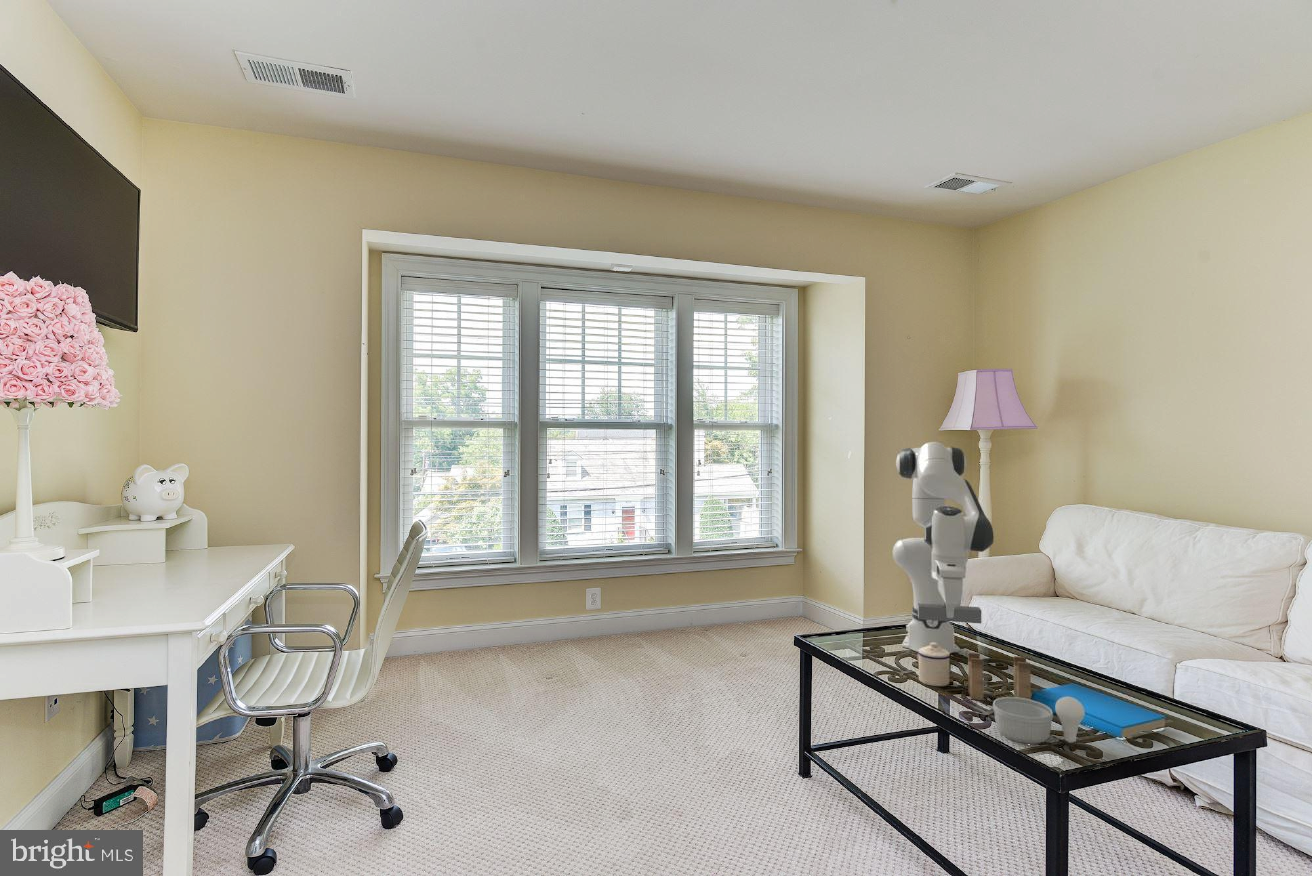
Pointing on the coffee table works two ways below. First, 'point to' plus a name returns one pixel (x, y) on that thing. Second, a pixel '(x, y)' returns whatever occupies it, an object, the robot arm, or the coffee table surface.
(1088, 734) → the coffee table surface
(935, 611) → the rail
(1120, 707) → the book
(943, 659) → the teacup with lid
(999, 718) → the ramekin
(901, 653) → the coffee table surface
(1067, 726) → the lightbulb
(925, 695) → the coffee table surface
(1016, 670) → the post
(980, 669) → the post
